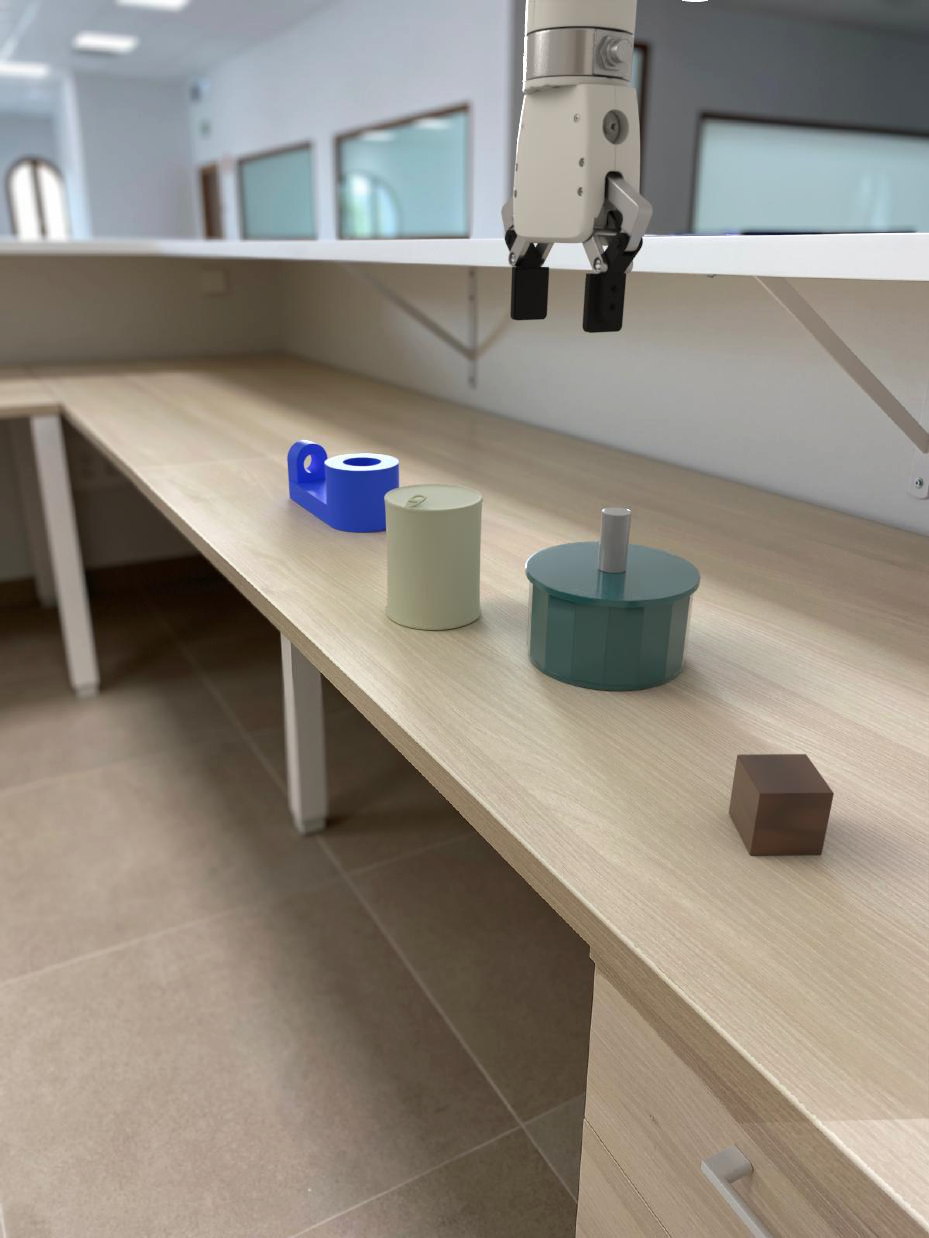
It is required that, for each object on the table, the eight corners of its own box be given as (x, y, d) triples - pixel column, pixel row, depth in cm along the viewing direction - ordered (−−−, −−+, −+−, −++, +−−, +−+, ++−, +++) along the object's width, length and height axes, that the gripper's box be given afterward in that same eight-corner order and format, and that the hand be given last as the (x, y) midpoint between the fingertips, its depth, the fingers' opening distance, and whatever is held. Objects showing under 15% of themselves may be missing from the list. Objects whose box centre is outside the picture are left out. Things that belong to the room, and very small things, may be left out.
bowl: (663, 624, 88) (671, 549, 85) (702, 690, 76) (713, 605, 73) (520, 624, 87) (523, 549, 85) (536, 691, 75) (540, 605, 72)
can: (366, 616, 89) (363, 494, 84) (421, 587, 96) (420, 474, 91) (447, 638, 84) (449, 510, 80) (498, 606, 92) (501, 487, 87)
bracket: (413, 523, 116) (413, 463, 113) (351, 536, 111) (349, 474, 108) (333, 490, 131) (331, 436, 128) (275, 500, 125) (271, 444, 122)
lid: (675, 553, 86) (682, 488, 83) (720, 615, 72) (730, 539, 70) (517, 553, 85) (520, 487, 83) (534, 615, 72) (538, 538, 69)
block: (795, 812, 60) (806, 753, 58) (821, 854, 56) (834, 793, 54) (728, 812, 60) (736, 753, 58) (749, 855, 56) (760, 793, 54)
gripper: (704, 58, 59) (676, 335, 66) (551, 87, 73) (541, 314, 80) (611, 45, 56) (591, 339, 63) (469, 79, 70) (465, 317, 77)
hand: (563, 325), depth 71 cm, fingers open, 9 cm apart
